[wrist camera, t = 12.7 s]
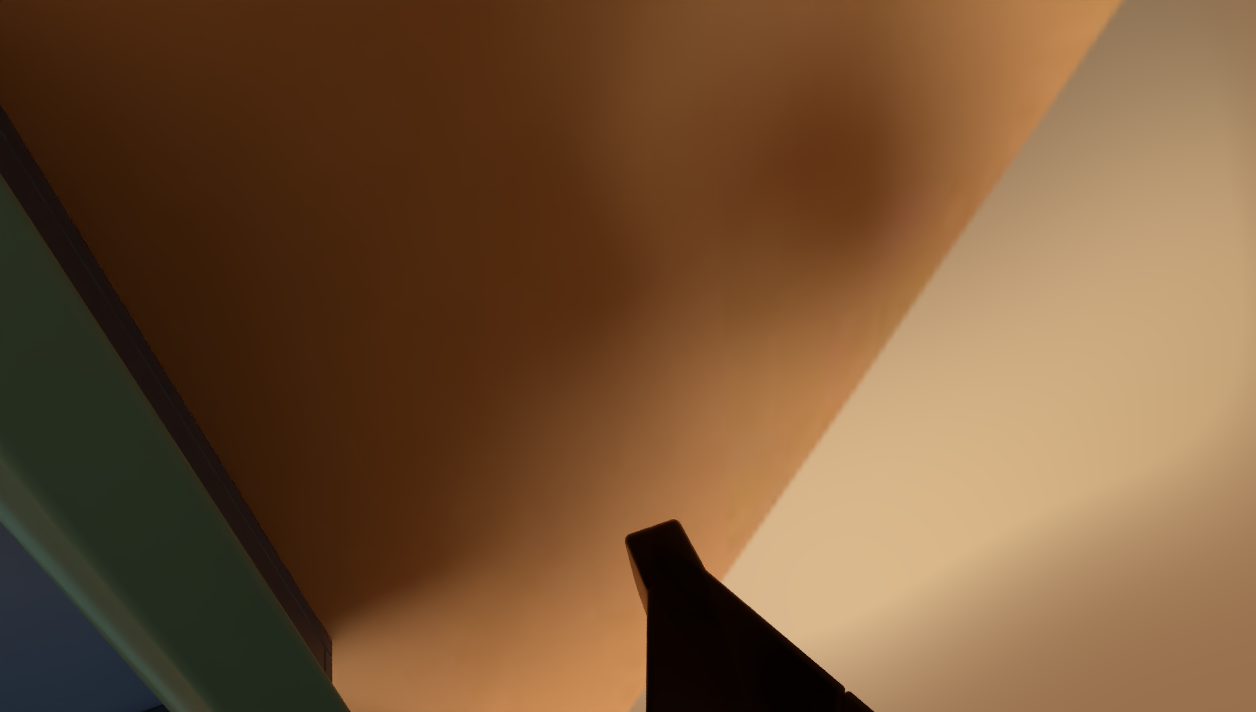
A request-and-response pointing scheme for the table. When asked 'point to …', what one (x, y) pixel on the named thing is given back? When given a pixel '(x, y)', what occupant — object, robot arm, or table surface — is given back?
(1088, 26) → the table surface
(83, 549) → the lid
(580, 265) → the table surface
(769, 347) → the table surface
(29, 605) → the dark blue open box
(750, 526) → the table surface
